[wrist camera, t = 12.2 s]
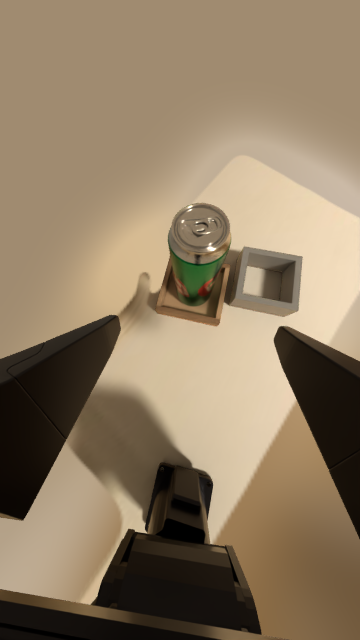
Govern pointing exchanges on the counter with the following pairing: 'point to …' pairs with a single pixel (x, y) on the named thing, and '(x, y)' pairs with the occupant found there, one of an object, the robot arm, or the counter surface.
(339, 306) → the counter surface
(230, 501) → the counter surface
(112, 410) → the counter surface
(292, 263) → the box
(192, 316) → the walnut tray
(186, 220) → the soda can
